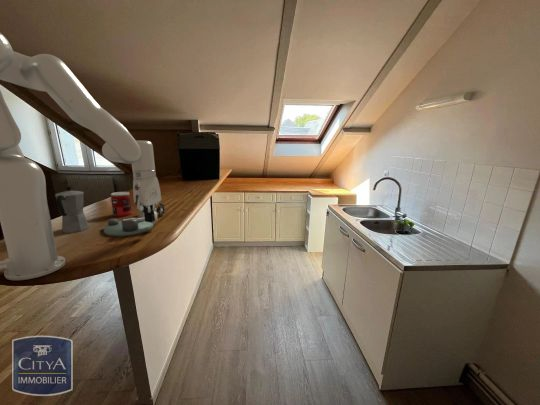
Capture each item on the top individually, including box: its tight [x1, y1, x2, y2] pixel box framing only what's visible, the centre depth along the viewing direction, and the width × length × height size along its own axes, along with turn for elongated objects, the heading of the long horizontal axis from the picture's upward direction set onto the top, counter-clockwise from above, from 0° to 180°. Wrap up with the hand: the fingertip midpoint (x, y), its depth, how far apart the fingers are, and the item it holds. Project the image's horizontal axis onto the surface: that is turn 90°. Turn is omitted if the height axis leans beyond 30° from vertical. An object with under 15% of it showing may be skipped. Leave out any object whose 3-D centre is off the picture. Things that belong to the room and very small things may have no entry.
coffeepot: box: [54, 185, 90, 234], centre depth 98 cm, size 15×9×18 cm, turn 14°
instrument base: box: [103, 214, 154, 237], centre depth 103 cm, size 18×18×4 cm
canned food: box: [110, 191, 132, 218], centre depth 121 cm, size 8×8×11 cm
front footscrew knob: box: [120, 211, 158, 232], centre depth 99 cm, size 13×6×6 cm, turn 124°
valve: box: [137, 203, 166, 217], centre depth 121 cm, size 7×7×12 cm
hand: (150, 221), depth 96 cm, fingers closed
